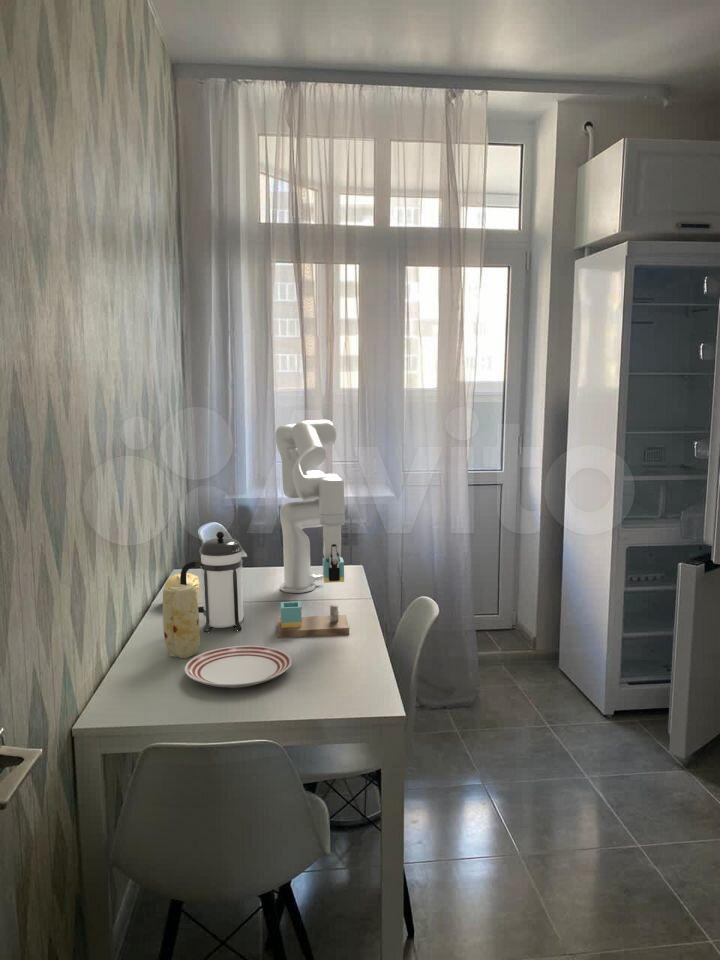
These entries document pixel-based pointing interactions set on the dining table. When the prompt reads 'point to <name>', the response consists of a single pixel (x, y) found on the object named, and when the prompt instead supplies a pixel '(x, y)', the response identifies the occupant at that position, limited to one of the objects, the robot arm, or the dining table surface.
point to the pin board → (317, 625)
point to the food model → (181, 620)
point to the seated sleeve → (291, 614)
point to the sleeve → (326, 570)
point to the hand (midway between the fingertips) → (333, 577)
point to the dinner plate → (238, 666)
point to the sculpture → (190, 579)
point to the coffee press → (220, 582)
